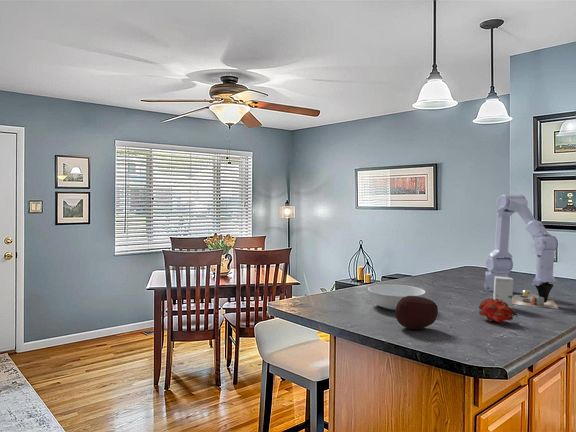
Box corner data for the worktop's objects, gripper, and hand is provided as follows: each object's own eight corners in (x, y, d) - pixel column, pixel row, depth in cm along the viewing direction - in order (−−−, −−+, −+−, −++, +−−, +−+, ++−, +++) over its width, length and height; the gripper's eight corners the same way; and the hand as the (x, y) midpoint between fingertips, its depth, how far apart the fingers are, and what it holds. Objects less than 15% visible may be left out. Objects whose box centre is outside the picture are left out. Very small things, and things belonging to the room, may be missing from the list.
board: (507, 305, 172) (507, 303, 172) (506, 297, 187) (506, 295, 187) (558, 310, 165) (558, 308, 165) (553, 302, 180) (553, 300, 180)
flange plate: (513, 297, 182) (513, 289, 182) (530, 298, 182) (530, 290, 182) (531, 305, 169) (531, 297, 168) (549, 305, 169) (550, 297, 168)
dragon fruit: (475, 321, 154) (513, 334, 146) (472, 311, 148) (510, 323, 140) (484, 300, 157) (521, 311, 149) (480, 289, 151) (518, 300, 143)
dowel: (530, 305, 170) (530, 297, 170) (530, 304, 171) (530, 296, 171) (534, 305, 170) (535, 297, 169) (534, 304, 171) (534, 297, 171)
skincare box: (494, 310, 164) (495, 277, 163) (492, 307, 168) (493, 276, 168) (512, 312, 162) (513, 279, 162) (510, 309, 166) (511, 277, 166)
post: (522, 300, 178) (522, 290, 178) (522, 299, 180) (522, 289, 180) (530, 301, 177) (531, 291, 176) (530, 299, 179) (530, 290, 179)
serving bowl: (356, 303, 171) (357, 285, 171) (401, 299, 179) (401, 282, 179) (389, 317, 152) (390, 297, 152) (437, 312, 160) (438, 293, 160)
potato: (443, 334, 133) (444, 299, 133) (400, 334, 132) (401, 299, 132) (429, 323, 144) (430, 292, 144) (389, 324, 143) (390, 292, 143)
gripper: (547, 270, 163) (545, 306, 164) (564, 266, 172) (562, 301, 173) (527, 267, 169) (526, 302, 169) (544, 264, 178) (543, 298, 178)
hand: (543, 302), depth 171 cm, fingers closed
